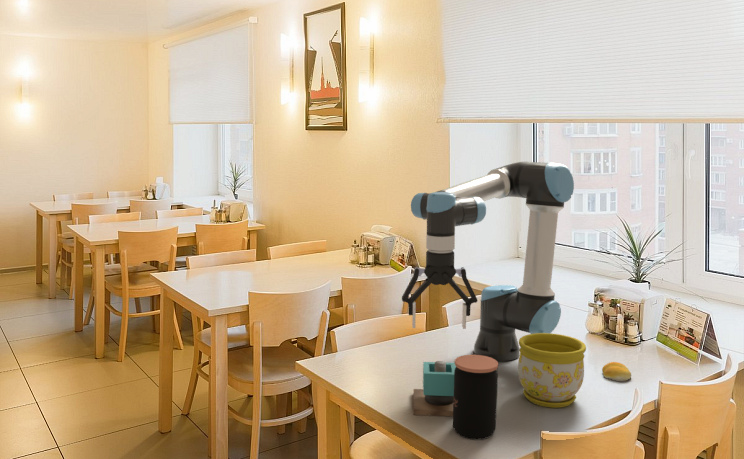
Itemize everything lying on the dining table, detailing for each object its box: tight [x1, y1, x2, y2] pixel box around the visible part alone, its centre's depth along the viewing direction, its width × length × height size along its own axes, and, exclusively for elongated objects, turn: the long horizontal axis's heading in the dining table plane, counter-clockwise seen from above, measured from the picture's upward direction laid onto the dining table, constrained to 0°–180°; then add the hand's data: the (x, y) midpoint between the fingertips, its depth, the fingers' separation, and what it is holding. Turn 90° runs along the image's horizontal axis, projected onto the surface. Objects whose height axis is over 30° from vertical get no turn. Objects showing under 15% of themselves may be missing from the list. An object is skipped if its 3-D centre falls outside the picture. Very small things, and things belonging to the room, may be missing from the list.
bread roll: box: [601, 361, 632, 382], centre depth 203 cm, size 8×9×4 cm
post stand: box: [412, 360, 454, 417], centre depth 179 cm, size 14×14×12 cm
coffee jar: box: [452, 354, 499, 440], centre depth 164 cm, size 11×11×18 cm
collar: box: [422, 361, 456, 396], centre depth 179 cm, size 9×9×6 cm
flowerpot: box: [517, 332, 587, 409], centre depth 184 cm, size 18×18×16 cm
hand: (438, 327), depth 180 cm, fingers open, 13 cm apart
